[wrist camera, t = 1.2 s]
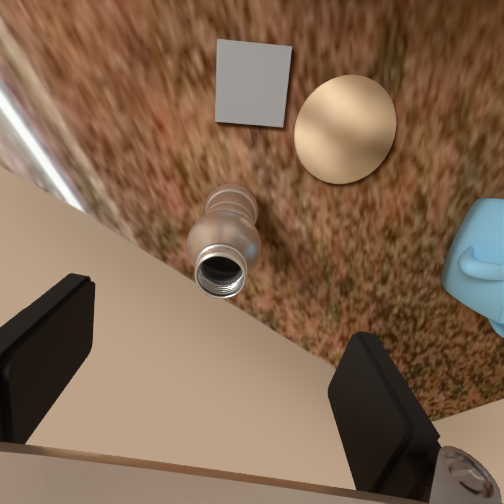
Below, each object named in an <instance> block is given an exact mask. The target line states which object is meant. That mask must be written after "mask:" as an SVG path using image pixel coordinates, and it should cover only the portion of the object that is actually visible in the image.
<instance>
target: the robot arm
mask: <svg viewBox="0 0 504 504" xmlns="http://www.w3.org/2000/svg"><path fill="white" fill-rule="evenodd" d="M94 300H95V283H94V282H91V279H90V277H89V276H83V275H78V274H73V273H70V274H68V275H67V276H66V277H65V278H63V279H62V280H61V281H60V282H58V283H57V284H56V285H55V286H53V287H52V288H51V289H50V290H48V291H47V292H46V293H45V294H43V295H42V296H41V297H40V298H38V299H37V300H36V301H34V302H33V303H32V304H31V305H29V306H28V307H26V308H25V309H23V310H22V311H21V312H19V313H18V314H17V315H16V316H14V317H13V318H12V319H10V320H9V321H8V322H7V323H6V324H4V325H3V326H2V327H0V504H502V502H501V494H500V489H499V487H498V485H497V483H496V482H495V480H494V478H493V477H492V476H491V474H490V473H489V472H488V470H487V469H486V468H484V466H483V465H482V464H481V463H479V461H477V460H476V459H475V458H473V457H472V456H471V455H470V454H467V453H466V452H464V451H463V450H461V449H458V448H455V447H452V446H444V447H441V446H440V444H439V443H438V441H437V440H438V439H439V437H440V435H439V433H438V432H437V430H436V429H435V427H434V426H433V424H432V422H431V421H430V419H429V418H428V416H427V415H426V413H425V411H424V410H423V408H422V407H421V405H420V403H419V402H418V400H417V399H416V397H415V396H414V394H413V392H412V391H411V389H410V388H409V386H408V384H407V383H406V381H405V380H404V378H403V377H402V375H401V373H400V372H399V370H398V369H397V367H396V365H395V364H394V362H393V361H392V359H391V358H390V356H389V354H388V353H387V351H386V350H385V348H384V346H383V345H382V343H381V342H380V340H379V339H378V337H377V336H376V335H375V334H372V333H367V332H362V331H358V332H357V333H356V334H353V335H352V336H351V338H350V340H349V343H348V345H347V347H346V349H345V352H344V354H343V356H342V358H341V360H340V363H339V365H338V367H337V369H336V371H335V374H334V376H333V378H332V380H331V383H330V385H329V387H328V398H329V401H330V404H331V408H332V411H333V414H334V418H335V421H336V424H337V427H338V431H339V434H340V437H341V440H342V444H343V447H344V451H345V454H346V457H347V460H348V464H349V467H350V470H351V473H352V477H353V480H354V483H355V487H356V490H351V489H344V488H337V487H330V486H324V485H317V484H310V483H303V482H297V481H289V480H283V479H276V478H269V477H262V476H255V475H247V474H241V473H234V472H227V471H220V470H213V469H206V468H199V467H192V466H185V465H177V464H171V463H163V462H155V461H149V460H141V459H134V458H127V457H119V456H112V455H104V454H97V453H89V452H82V451H75V450H67V449H58V448H50V447H41V446H33V445H24V444H25V443H26V442H27V440H28V439H29V437H30V436H31V435H32V433H33V432H34V430H35V429H36V428H37V426H38V425H39V423H40V422H41V421H42V419H43V418H44V416H45V415H46V414H47V412H48V411H49V410H50V408H51V407H52V405H53V404H54V402H55V401H56V400H57V398H58V397H59V396H60V394H61V393H62V391H63V390H64V388H65V387H66V385H67V384H68V383H69V382H70V380H71V379H72V377H73V376H74V375H75V373H76V372H77V370H78V369H79V368H80V366H81V365H82V363H83V362H84V361H85V359H86V358H87V356H88V355H89V353H90V351H91V348H92V341H93V322H94Z"/></svg>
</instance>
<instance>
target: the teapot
mask: <svg viewBox="0 0 504 504" xmlns="http://www.w3.org/2000/svg"><path fill="white" fill-rule="evenodd" d="M440 282H441V284H442V285H443V287H444V288H445V290H446V291H447V292H448V293H449V294H450V295H452V296H453V297H454V298H456V299H457V300H458V301H460V302H461V303H463V304H464V305H466V306H467V307H469V308H471V309H472V310H474V311H476V312H478V313H480V314H481V315H483V316H485V317H487V318H488V320H489V322H490V324H491V326H492V327H493V329H494V330H495V332H496V333H497V334H498V335H500V336H501V337H503V338H504V199H496V198H479V199H477V200H475V201H474V203H473V204H472V205H471V207H470V209H469V210H468V212H467V214H466V216H465V218H464V219H463V221H462V223H461V225H460V227H459V229H458V231H457V233H456V235H455V237H454V239H453V242H452V244H451V246H450V249H449V252H448V254H447V257H446V260H445V263H444V266H443V269H442V273H441V277H440Z"/></svg>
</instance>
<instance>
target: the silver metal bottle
mask: <svg viewBox="0 0 504 504" xmlns="http://www.w3.org/2000/svg"><path fill="white" fill-rule="evenodd" d="M205 213H206V214H205V215H203V216H202V217H201V218H199V219H198V220H197V222H196V223H195V224H194V225H193V226H192V228H191V230H190V232H189V235H188V239H187V247H188V253H189V257H190V259H191V262H192V263H193V265H194V267H195V280H196V283H197V285H198V287H199V288H200V289H201V290H202V291H203V292H204V293H205V294H207V295H209V296H211V297H214V298H219V299H225V298H230V297H233V296H235V295H236V294H238V293H239V292H240V291H241V290H242V289H243V287H244V285H245V282H246V276H247V275H249V274H250V273H251V272H252V271H253V269H254V268H255V266H256V265H257V264H258V262H259V259H260V257H261V251H262V246H261V240H260V236H259V233H258V231H257V229H256V227H255V226H254V225H255V223H256V220H257V218H258V204H257V201H256V199H255V197H254V196H253V195H252V193H251V192H249V191H248V190H247V189H246V188H244V187H243V186H240V185H237V184H225V185H221V186H219V187H217V188H216V189H214V190H213V191H212V192H211V193H210V194H209V196H208V198H207V201H206V207H205Z"/></svg>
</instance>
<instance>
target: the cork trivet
mask: <svg viewBox="0 0 504 504" xmlns="http://www.w3.org/2000/svg"><path fill="white" fill-rule="evenodd" d="M395 132H396V113H395V109H394V105H393V103H392V100H391V98H390V96H389V95H388V93H387V92H386V91H385V89H384V88H383V87H382V86H381V85H379V84H378V83H377V82H375V81H374V80H372V79H370V78H367V77H364V76H360V75H344V76H340V77H336V78H334V79H331V80H329V81H327V82H326V83H324V84H322V85H321V86H319V87H318V88H317V89H316V90H314V91H313V92H312V93H311V94H310V96H309V97H308V98H307V99H306V101H305V102H304V104H303V105H302V107H301V109H300V111H299V113H298V116H297V119H296V123H295V129H294V143H295V149H296V152H297V155H298V157H299V160H300V161H301V163H302V165H303V166H304V167H305V168H306V170H307V171H309V172H310V173H311V174H312V175H313V176H315V177H316V178H318V179H320V180H322V181H325V182H328V183H333V184H346V183H351V182H354V181H357V180H359V179H362V178H364V177H365V176H367V175H368V174H370V173H371V172H372V171H374V170H375V169H376V168H377V167H378V166H379V165H380V164H381V163H382V161H383V160H384V159H385V157H386V156H387V154H388V152H389V150H390V148H391V146H392V143H393V140H394V137H395Z"/></svg>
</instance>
